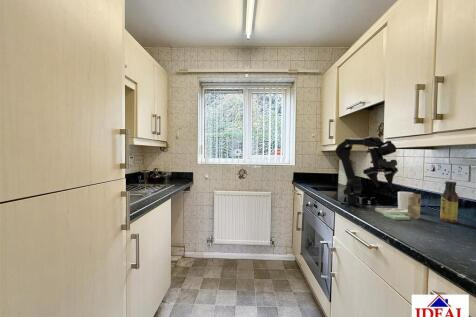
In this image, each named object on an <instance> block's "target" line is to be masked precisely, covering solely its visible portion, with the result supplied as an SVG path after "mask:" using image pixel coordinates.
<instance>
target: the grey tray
mask: <svg viewBox="0 0 476 317" xmlns="http://www.w3.org/2000/svg"><path fill="white" fill-rule="evenodd" d="M389 209H392V210H395V211H398V212H399V213H400V214H403V215H406V216H408V210H407V209H404V208H398V207H397V208H393V207H391V208H389Z"/></svg>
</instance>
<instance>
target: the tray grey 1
mask: <svg viewBox="0 0 476 317" xmlns="http://www.w3.org/2000/svg"><path fill="white" fill-rule="evenodd" d="M374 210H375V212H377V213H379V214H382V215H384V213H399V212H398V211H395V210H392V209H390V208H389V207H388V208H387V207H385V208H384V207H378V208H377V207H375V209H374Z"/></svg>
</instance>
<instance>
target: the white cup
mask: <svg viewBox="0 0 476 317" xmlns="http://www.w3.org/2000/svg"><path fill="white" fill-rule="evenodd" d="M411 193H412V192H411V191H397V208H404V209H407V210H408V195H409V194H411Z"/></svg>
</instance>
